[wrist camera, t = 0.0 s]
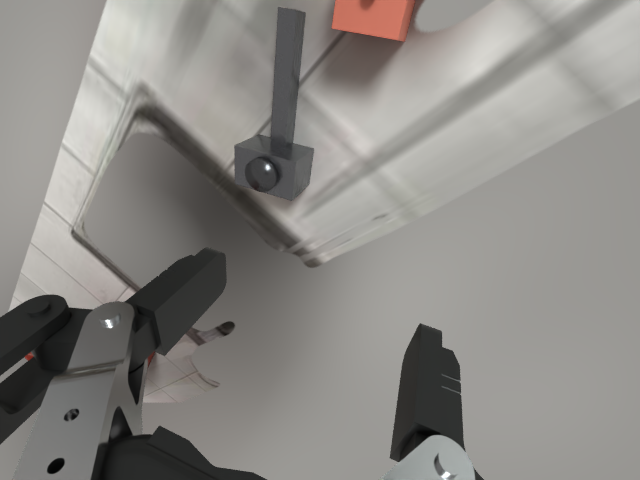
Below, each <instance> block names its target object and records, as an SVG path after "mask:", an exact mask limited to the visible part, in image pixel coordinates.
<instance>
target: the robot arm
mask: <svg viewBox="0 0 640 480" xmlns="http://www.w3.org/2000/svg"><path fill="white" fill-rule="evenodd" d="M225 285H226V257H225V254H224V253H222V252H219V251H216V250H213V249H211V248H204V249H203V250H201V251H200V252H199V253H198V254H196V255H195V256H192V255H189V256H187V257H185V258H182V259H180V260H178V261H176V262H175V263H174V264H172V265H171V266H170V267H169V268H168V269H167V270H165V271H163V272H162V273H161V274H160V275H159V277H158V276H157V277H156V278H155V279H153V280H152V281H151V282H149V283H148V284H147V285H146V286H144V287H143V288H142V289H140V290H139V291H138V292H137V293H135V294H134V295H133V296H132V297H130V298H129V299H128V300H126V301H125V302H119V301H117V302H109V303H106V304H103V305H101V306H99V307H97V308H95V309H94V310H90V309H79V308H69V307H68V305H67V303H66V300H65V299H64V298H63V297H61V296H58V295H43V296H38V297H35V298H32V299H30V300H28V301H26V302H24V303H22V304H20V305H19V306H17V307H16V308H14V309H13V310H11V311H10V312H8V313H6V314H5V315H3V316H2V317H0V375H2V374H3V373H4V372H5V371H7V370H8V369H9V368H11V367H12V366H13V365H14V364H16V363H17V362H18V361H20V360H21V359H22V358H24V357H25V356H26V355H27V354H29V353H30V352H31V353H32V355H33V356H34V357H33V358H31V359H30V360H29V361H28V362H26V363H25V364H24V365H23V366H21V367H20V368H19V369H18V370H17V371H15V372H14V373H12V374H11V375H10V376H9V377H8V378H6V379H5V380H4V381H2V382H1V383H0V444H1V443H2V442H3V441H4V440H5V439H6V438H7V437H9V436H10V435H11V434H12V433H13V432H14V431H15V430H16V429H17V428H18V427H19V426H20V425H21V424H22V423H23V422H25V421H26V420H27V419H28V418H29V417H30V416H31V415H32V414H33V413H34V412H35V411H36V410H37V409H38V408H39V407H40V406H41V407H40V410H39V412H38V415H37V417H36V420H35V422H34V425H33V427H32V430H31V432H30V435H29V437H28V440H27V443H26V445H25V448H24V450H23V453H22V455H21V458H20V460H19V463H18V466H17V468H16V471H15V473H14V476H13V479H12V480H267V479H265V478H263V477H261V476H259V475H257V474H254V473H252V472H246V471H238V470H232V469H225V468H218V467H215V466H213V465H212V464H210V462H209V461H208V460H207V459H206V458H205V457H204V456H203V455H202V454H201V453H200V452H199V451H198V450H197V449H196V448H195V447H194V446H193V445H192V443H191V442H190V441H188V440H187V439H185V438H182V437H181V436H179V435H177V434H175V433H173V432H171V431H169V430H167V429H165V428H163V427H161V426H159V427H158V428H157V430H156V431H155V432H154V433H153V435H150V434H142V403H143V396H144V389H145V381H146V374H147V367H148V357H149V356H150V355H151V354H152V353H153V352H154V351H155V352H157V353H159V354H161V355H164V356H165V355H166V354H167V353H168V352H169V351H170V349H171V348H172V347H173V346H174V345H175V344H176V343H177V342H178V341H179V340H180V339H181V338H182V336H183V335H184V334H185V333H186V332H187V331H188V330H189V329H190V328H191V327H192V325H193V324H194V323H195V322H196V321H197V320H198V319H199V318H200V317H201V316H202V315H203V314H204V312H205V311H206V310H207V309H208V308H209V307H210V306H211V305H212V304H213V303H214V302H215V301H216V299H217V298H218V297H219V296H220V295H221V294H222V292H223V290H224V288H225ZM460 394H461V384H460V365H459V363H458V361H457V359H456V357H455V355H454V352H453V351H452V350H449V349H446V348H443V347H442V332H441V331H440V330H437V329H435V328H432V327H429V326H426V325H423V324H419V326H418V327H417V329H416V332H415V334H414V336H413V338H412V340H411V342H410V344H409V346H408V348H407V350H406V352H405V355H404V359H403V363H402V370H401V378H400V385H399V393H398V401H397V408H396V415H395V423H394V430H393V438H392V445H391V454H390V458H391V459H393V460H395V461H397V462H399V463H398V464H397V465H396V466H394V467H393V468H392V469H391V470H390V471H389V472H388V473H387V474H385V475H384V476H383V477H382V478H380V479H379V480H484V479H483V478H482V477H481V476H480V475H479V474H478V473H477V472H476V470H475V469H474V467H473V466H472V463H471V461H470V458H469V457H468V455H467V454H466V451H465V448H464V441H463V422H462V404H461V403H462V402H461V395H460Z"/></svg>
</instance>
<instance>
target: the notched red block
mask: <svg viewBox="0 0 640 480" xmlns="http://www.w3.org/2000/svg"><path fill="white" fill-rule="evenodd" d="M414 4H415V0H336V1H335V8H334V15H333V22H332V29H337V30H342V31H347V32H352V33H360V34H365V35H371V36H377V37H382V38H388V39H393V40H397V41H403V42H405V39H406V35H407V32H408V28H409V24H410V20H411V16H412V12H413V8H414Z"/></svg>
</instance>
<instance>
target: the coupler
mask: <svg viewBox="0 0 640 480" xmlns="http://www.w3.org/2000/svg"><path fill="white" fill-rule="evenodd" d="M304 23H305V12H301V11H298V10H293V9H287V8H281V7H278V20H277V38H276V56H275V74H274V92H273V110H272V128H271V137H267V136H263V135H257V136H254V137H252V138H250V139H248V140H246V141H243V142H241V143H239V144H237V145H235V184H237V185H241V186H244V187H247V188H251V189H254V190H257V191H259V192H264V193H267V194H270V195H274V196H277V197H280V198H284V199H287V200H290V201H292V200H293V199H294V198H295V197H297V196H298V195H299V194H300V193H301V192H302V191H303V190H304V189H305V188H306V187H307V186H308V185H309V182H310V175H311V167H312V160H313V153H314V149H313V148H309V147H305V146H301V145H298V144H294V143H293V137H294V127H295V116H296V106H297V96H298V85H299V75H300V65H301V54H302V44H303V34H304Z"/></svg>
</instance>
